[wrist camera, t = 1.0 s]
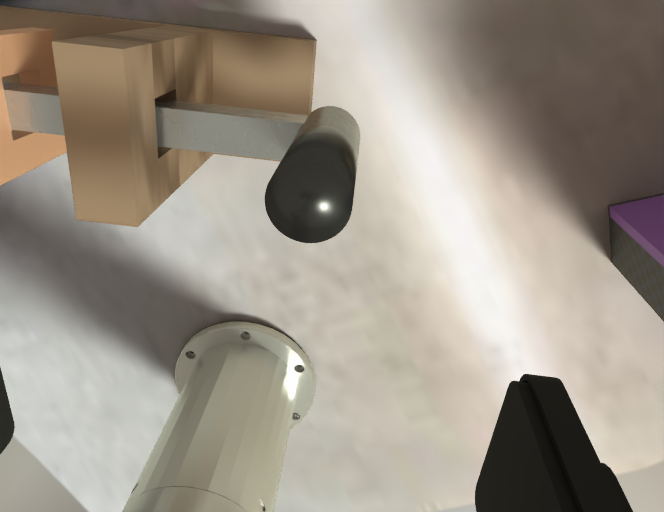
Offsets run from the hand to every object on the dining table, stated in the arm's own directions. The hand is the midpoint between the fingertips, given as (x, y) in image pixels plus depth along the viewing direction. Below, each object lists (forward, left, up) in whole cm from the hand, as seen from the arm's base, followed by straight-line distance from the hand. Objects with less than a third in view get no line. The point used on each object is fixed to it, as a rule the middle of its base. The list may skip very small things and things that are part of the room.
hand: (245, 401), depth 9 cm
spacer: (0, +17, -24) cm, 29 cm away
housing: (0, +13, -29) cm, 32 cm away
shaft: (0, +9, -20) cm, 23 cm away
